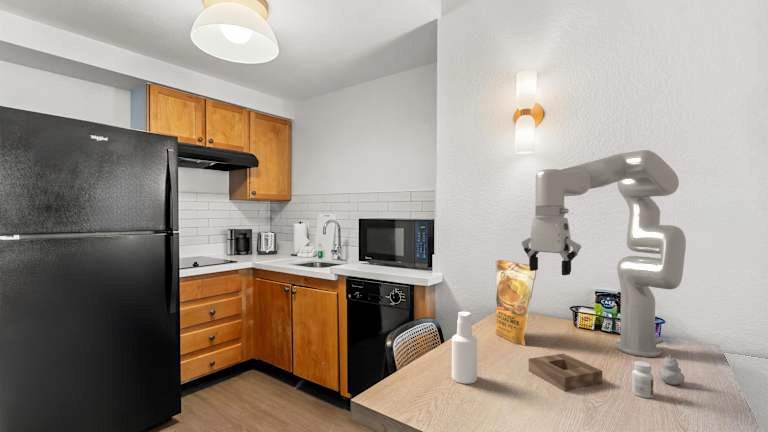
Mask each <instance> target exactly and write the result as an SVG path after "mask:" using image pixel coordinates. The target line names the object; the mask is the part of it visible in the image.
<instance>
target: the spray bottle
mask: <svg viewBox="0 0 768 432" xmlns="http://www.w3.org/2000/svg"><path fill="white" fill-rule="evenodd" d="M457 317H458V318H457V322H456V324H457V325H456V334H454V335H452V337H451V378H452V380H453V381H454V382H456V383H460V384H464V385H465V384H466V385H467V384H474V383H476V381H477V380H478V338H477V337H476V336H474V335H473V327H472V322H473V321H472V313H471V312H469V311H458V313H457Z"/></svg>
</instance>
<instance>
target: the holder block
mask: <svg viewBox="0 0 768 432" xmlns="http://www.w3.org/2000/svg"><path fill="white" fill-rule="evenodd" d="M528 372H530V373H532V374H533V375H535V376H537V377H538V378H540V379H542V380H544V381H546V382H547V383H549V384H551V385H552V386H554V387H556V388H558V389H560V390H562V391H563V392H568V391H573V390H578V389H583V388H589V387H593V386H599V385H603V370H601V369H600V368H597V367H595V366H593V365H590V364H589V363H586V362H584V361H581V360H579V359H578V358H575V357H572V356H570V355H569V354H566V353H558V354H557V353H556V354H552V355H551V354H550V355H544V356H538V357H531V358H528Z"/></svg>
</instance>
